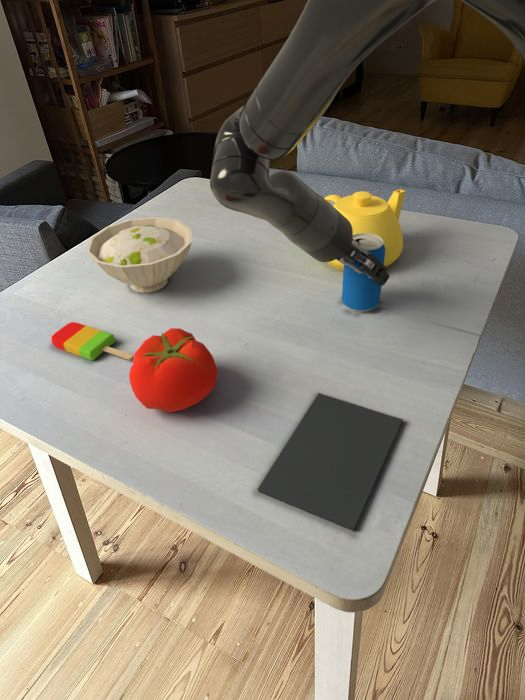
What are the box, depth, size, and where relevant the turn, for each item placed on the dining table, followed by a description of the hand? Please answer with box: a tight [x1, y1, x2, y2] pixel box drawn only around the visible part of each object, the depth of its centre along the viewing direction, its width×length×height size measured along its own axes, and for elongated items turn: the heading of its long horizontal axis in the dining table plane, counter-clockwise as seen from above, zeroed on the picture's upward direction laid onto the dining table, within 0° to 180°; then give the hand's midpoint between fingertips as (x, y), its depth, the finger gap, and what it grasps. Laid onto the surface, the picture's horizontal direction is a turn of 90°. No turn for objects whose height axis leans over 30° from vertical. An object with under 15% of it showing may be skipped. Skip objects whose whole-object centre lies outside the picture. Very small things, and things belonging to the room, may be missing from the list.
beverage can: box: [341, 233, 386, 313], centre depth 89 cm, size 6×6×12 cm
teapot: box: [323, 188, 406, 272], centre depth 103 cm, size 20×19×13 cm
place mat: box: [257, 392, 403, 532], centre depth 67 cm, size 18×12×1 cm, turn 152°
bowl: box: [85, 216, 193, 294], centre depth 98 cm, size 19×19×10 cm
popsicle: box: [50, 321, 134, 361], centre depth 86 cm, size 6×15×2 cm, turn 61°
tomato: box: [128, 327, 219, 413], centre depth 75 cm, size 13×12×8 cm
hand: (370, 271), depth 90 cm, fingers closed on beverage can, 6 cm apart
